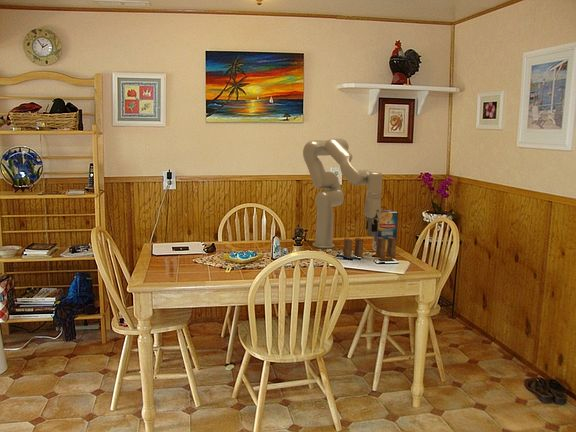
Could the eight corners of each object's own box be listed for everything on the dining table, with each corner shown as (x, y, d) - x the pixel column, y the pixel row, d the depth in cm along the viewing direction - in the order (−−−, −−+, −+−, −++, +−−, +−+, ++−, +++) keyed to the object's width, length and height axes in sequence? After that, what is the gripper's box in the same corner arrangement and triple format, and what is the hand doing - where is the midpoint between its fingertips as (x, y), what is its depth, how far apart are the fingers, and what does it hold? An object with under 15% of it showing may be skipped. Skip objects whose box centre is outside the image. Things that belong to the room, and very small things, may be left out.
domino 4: (375, 255, 295) (377, 237, 293) (379, 255, 296) (380, 237, 294) (380, 258, 290) (381, 239, 289) (384, 257, 291) (385, 239, 289)
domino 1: (342, 257, 288) (344, 238, 287) (346, 257, 289) (347, 238, 287) (347, 259, 284) (348, 240, 282) (350, 259, 284) (352, 240, 283)
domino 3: (367, 234, 291) (368, 216, 289) (370, 234, 291) (371, 215, 290) (371, 236, 286) (372, 217, 284) (375, 236, 287) (376, 217, 285)
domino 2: (354, 256, 291) (355, 238, 289) (357, 256, 291) (359, 238, 290) (358, 259, 286) (359, 240, 284) (362, 258, 287) (363, 240, 285)
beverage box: (395, 251, 306) (398, 212, 303) (376, 251, 304) (379, 212, 300) (390, 248, 313) (393, 210, 309) (371, 249, 310) (374, 210, 307)
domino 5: (386, 255, 297) (388, 237, 296) (390, 255, 298) (391, 236, 296) (391, 257, 293) (392, 239, 291) (394, 257, 293) (396, 238, 292)
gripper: (359, 193, 292) (357, 227, 295) (375, 198, 276) (373, 233, 279) (372, 193, 294) (370, 227, 297) (388, 198, 279) (386, 233, 282)
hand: (371, 230), depth 288 cm, fingers closed on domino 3, 4 cm apart
